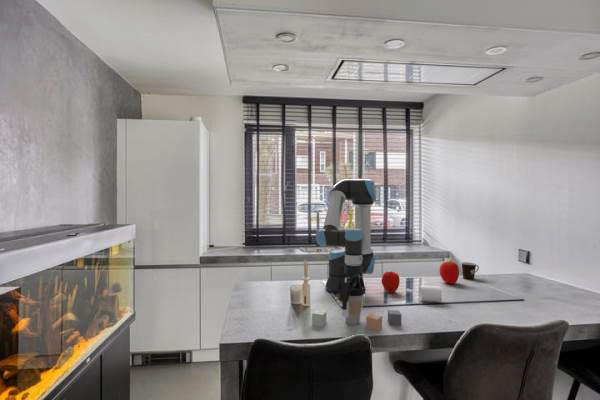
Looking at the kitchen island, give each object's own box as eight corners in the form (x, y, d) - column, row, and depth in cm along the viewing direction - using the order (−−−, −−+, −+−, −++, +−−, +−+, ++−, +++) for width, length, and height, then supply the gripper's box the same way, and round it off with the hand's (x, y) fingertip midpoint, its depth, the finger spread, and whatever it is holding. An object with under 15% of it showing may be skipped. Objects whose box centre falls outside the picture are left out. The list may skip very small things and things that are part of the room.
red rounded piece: (380, 293, 194) (380, 272, 194) (382, 289, 204) (383, 268, 203) (398, 295, 191) (398, 273, 190) (400, 291, 200) (400, 270, 200)
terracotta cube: (366, 328, 145) (366, 316, 145) (371, 324, 149) (371, 313, 149) (377, 331, 142) (377, 319, 142) (382, 327, 146) (382, 315, 146)
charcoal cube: (389, 325, 148) (389, 313, 148) (387, 321, 153) (387, 310, 153) (401, 326, 148) (401, 314, 148) (399, 321, 153) (399, 310, 153)
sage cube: (311, 324, 148) (311, 313, 148) (315, 320, 153) (315, 309, 153) (323, 326, 146) (323, 314, 146) (326, 322, 151) (326, 311, 151)
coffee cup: (339, 318, 155) (340, 285, 155) (360, 318, 156) (360, 285, 156) (344, 326, 146) (344, 291, 146) (366, 326, 147) (366, 291, 146)
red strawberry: (462, 286, 212) (463, 263, 211) (443, 285, 212) (444, 262, 212) (453, 280, 224) (454, 259, 224) (436, 280, 224) (436, 258, 224)
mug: (441, 304, 176) (442, 289, 176) (421, 303, 178) (421, 287, 178) (437, 297, 188) (437, 283, 188) (418, 296, 190) (418, 281, 190)
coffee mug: (463, 279, 226) (463, 264, 226) (459, 276, 235) (460, 262, 235) (482, 280, 225) (482, 265, 224) (478, 277, 233) (478, 262, 233)
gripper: (347, 270, 138) (346, 322, 139) (373, 260, 158) (372, 306, 159) (331, 267, 143) (330, 318, 143) (358, 258, 163) (357, 303, 163)
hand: (352, 312), depth 151 cm, fingers open, 13 cm apart
